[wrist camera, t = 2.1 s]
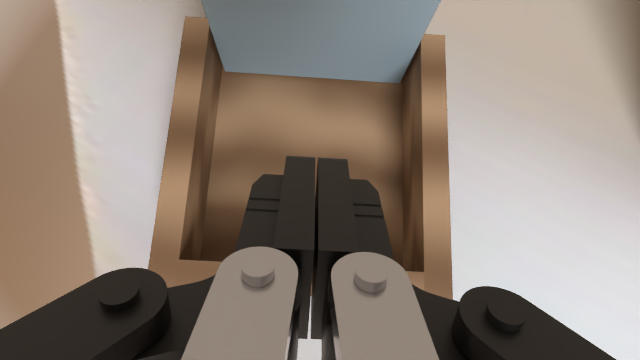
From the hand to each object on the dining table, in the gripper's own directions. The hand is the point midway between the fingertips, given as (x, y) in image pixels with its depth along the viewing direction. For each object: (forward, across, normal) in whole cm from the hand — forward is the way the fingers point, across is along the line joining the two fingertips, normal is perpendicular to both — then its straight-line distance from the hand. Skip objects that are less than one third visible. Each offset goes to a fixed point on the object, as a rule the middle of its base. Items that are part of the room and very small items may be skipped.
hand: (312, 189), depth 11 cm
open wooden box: (+19, 0, +11) cm, 21 cm away
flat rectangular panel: (+23, 0, +3) cm, 23 cm away
